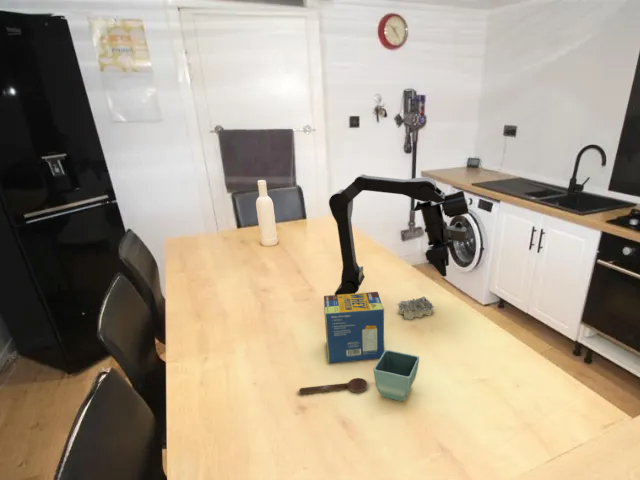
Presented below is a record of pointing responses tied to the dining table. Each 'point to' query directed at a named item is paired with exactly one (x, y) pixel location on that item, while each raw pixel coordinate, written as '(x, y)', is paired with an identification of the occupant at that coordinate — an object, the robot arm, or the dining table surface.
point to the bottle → (266, 216)
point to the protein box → (354, 327)
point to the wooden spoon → (339, 387)
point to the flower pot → (395, 374)
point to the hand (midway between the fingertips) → (446, 270)
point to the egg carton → (415, 308)
